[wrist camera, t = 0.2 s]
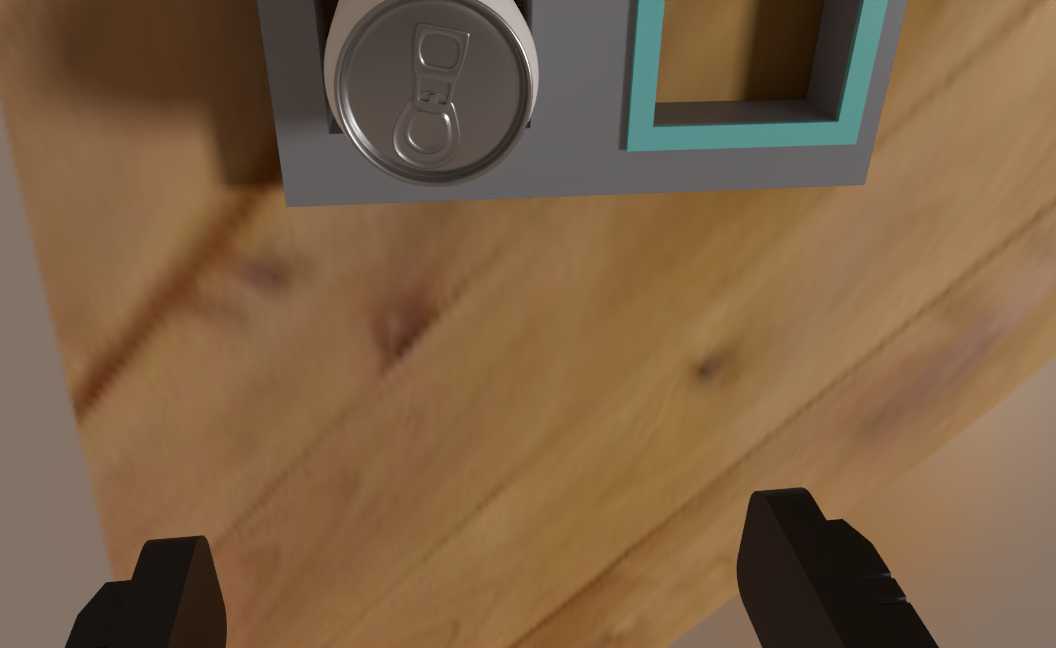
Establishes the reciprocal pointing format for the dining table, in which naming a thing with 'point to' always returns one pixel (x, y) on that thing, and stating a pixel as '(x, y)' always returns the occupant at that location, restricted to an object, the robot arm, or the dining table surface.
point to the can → (431, 84)
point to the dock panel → (604, 112)
